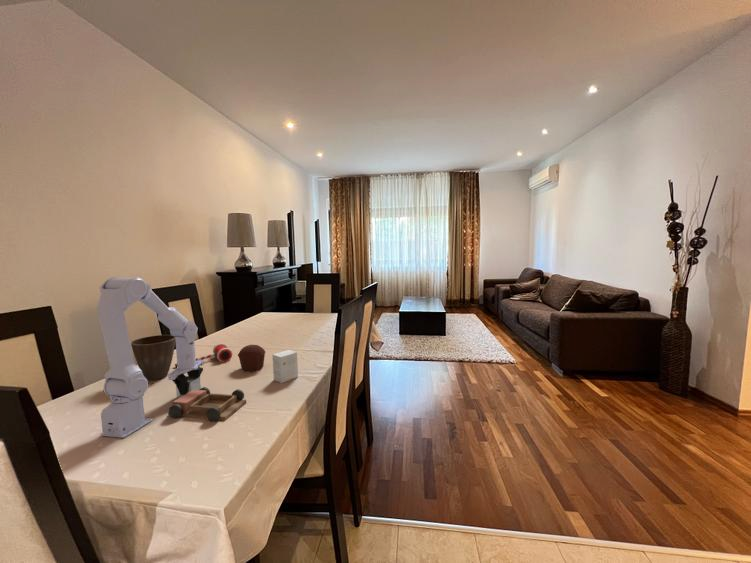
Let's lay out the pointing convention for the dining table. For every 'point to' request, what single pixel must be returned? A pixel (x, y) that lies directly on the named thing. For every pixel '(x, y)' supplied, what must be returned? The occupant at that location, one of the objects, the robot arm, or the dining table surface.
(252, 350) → the muffin
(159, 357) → the plant pot
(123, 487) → the dining table surface
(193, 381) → the grey block
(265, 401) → the dining table surface
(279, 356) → the small box
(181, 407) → the chassis
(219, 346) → the toy hammer
